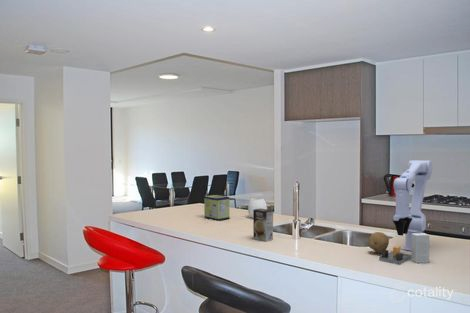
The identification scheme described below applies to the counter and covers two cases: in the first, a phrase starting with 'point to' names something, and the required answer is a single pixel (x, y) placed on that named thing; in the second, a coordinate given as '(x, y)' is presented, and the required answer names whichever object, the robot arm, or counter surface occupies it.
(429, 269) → the counter surface
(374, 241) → the natural sponge
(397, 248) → the block
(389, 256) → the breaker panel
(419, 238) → the skincare box
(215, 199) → the protein box
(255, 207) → the cup
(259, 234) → the coffee box
